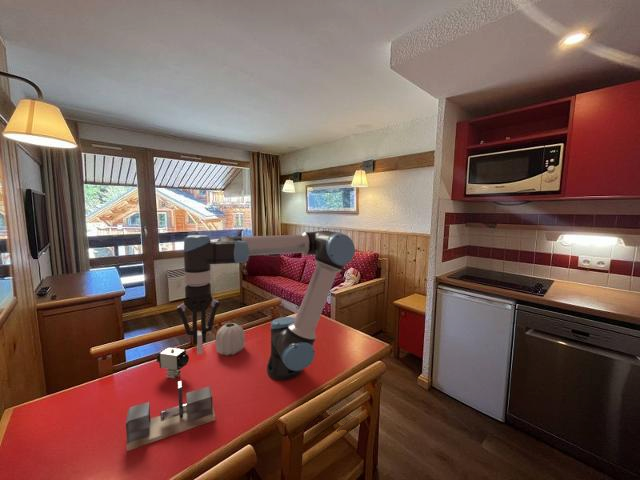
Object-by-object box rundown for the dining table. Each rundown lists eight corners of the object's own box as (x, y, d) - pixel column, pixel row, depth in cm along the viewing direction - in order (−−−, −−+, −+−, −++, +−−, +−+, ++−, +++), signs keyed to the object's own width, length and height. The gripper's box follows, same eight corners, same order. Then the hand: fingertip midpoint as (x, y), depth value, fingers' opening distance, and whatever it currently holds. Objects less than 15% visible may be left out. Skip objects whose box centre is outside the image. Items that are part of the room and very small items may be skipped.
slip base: (211, 402, 96) (210, 381, 95) (215, 419, 88) (214, 397, 87) (130, 428, 84) (128, 404, 83) (126, 451, 76) (124, 425, 75)
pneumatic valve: (182, 381, 107) (180, 353, 106) (157, 377, 109) (155, 350, 108) (191, 373, 112) (190, 346, 111) (167, 369, 115) (166, 343, 113)
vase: (249, 353, 129) (248, 326, 128) (219, 361, 121) (218, 334, 120) (240, 341, 140) (239, 317, 139) (212, 348, 133) (211, 323, 131)
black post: (207, 403, 93) (206, 372, 92) (209, 412, 89) (208, 380, 88) (161, 418, 86) (159, 385, 85) (160, 428, 82) (159, 394, 81)
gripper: (217, 278, 92) (218, 342, 94) (174, 282, 85) (177, 351, 88) (221, 283, 85) (222, 353, 88) (175, 288, 79) (177, 363, 82)
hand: (199, 352), depth 88 cm, fingers closed
